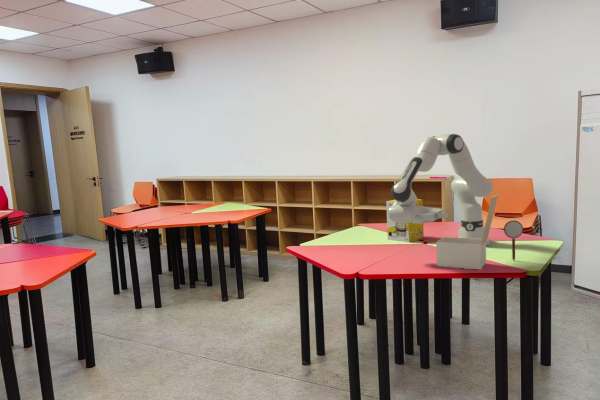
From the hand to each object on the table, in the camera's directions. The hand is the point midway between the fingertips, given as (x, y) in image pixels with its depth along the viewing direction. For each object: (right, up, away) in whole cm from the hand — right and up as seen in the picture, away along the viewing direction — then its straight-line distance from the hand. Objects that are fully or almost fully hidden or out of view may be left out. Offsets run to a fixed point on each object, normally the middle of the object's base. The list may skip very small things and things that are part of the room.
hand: (447, 215), depth 215 cm
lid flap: (+16, -1, -10) cm, 18 cm away
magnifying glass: (+33, -22, +1) cm, 40 cm away
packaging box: (-4, -18, +70) cm, 72 cm away
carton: (+6, -24, -1) cm, 25 cm away
